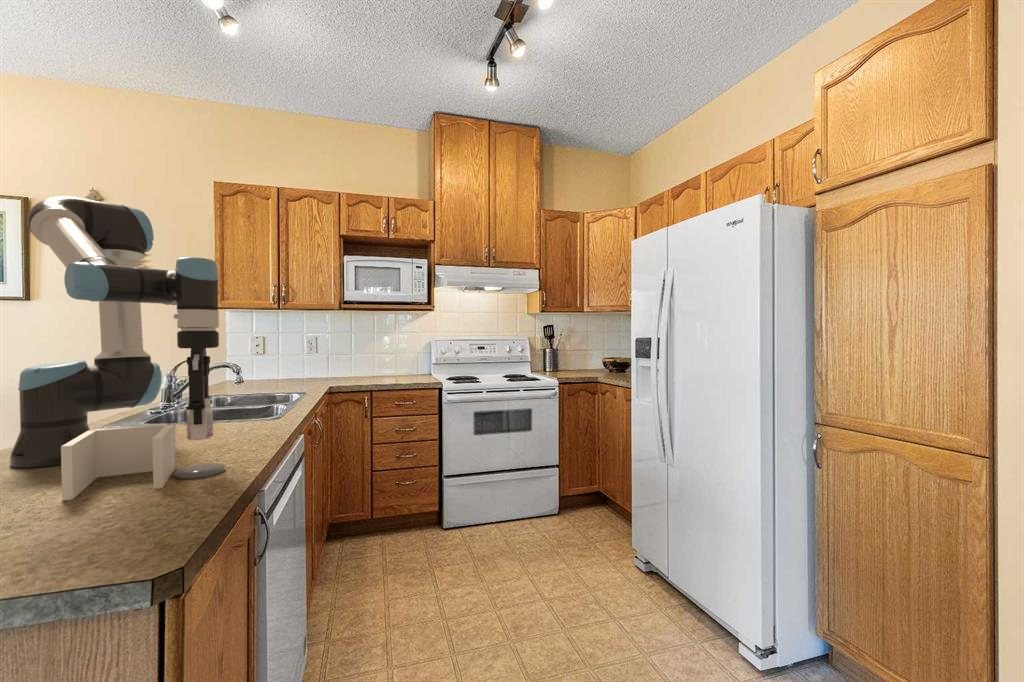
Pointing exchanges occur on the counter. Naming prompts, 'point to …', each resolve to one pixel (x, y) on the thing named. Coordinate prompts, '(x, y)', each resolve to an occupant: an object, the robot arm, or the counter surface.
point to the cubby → (117, 456)
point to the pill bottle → (208, 421)
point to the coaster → (199, 471)
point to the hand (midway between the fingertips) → (200, 436)
